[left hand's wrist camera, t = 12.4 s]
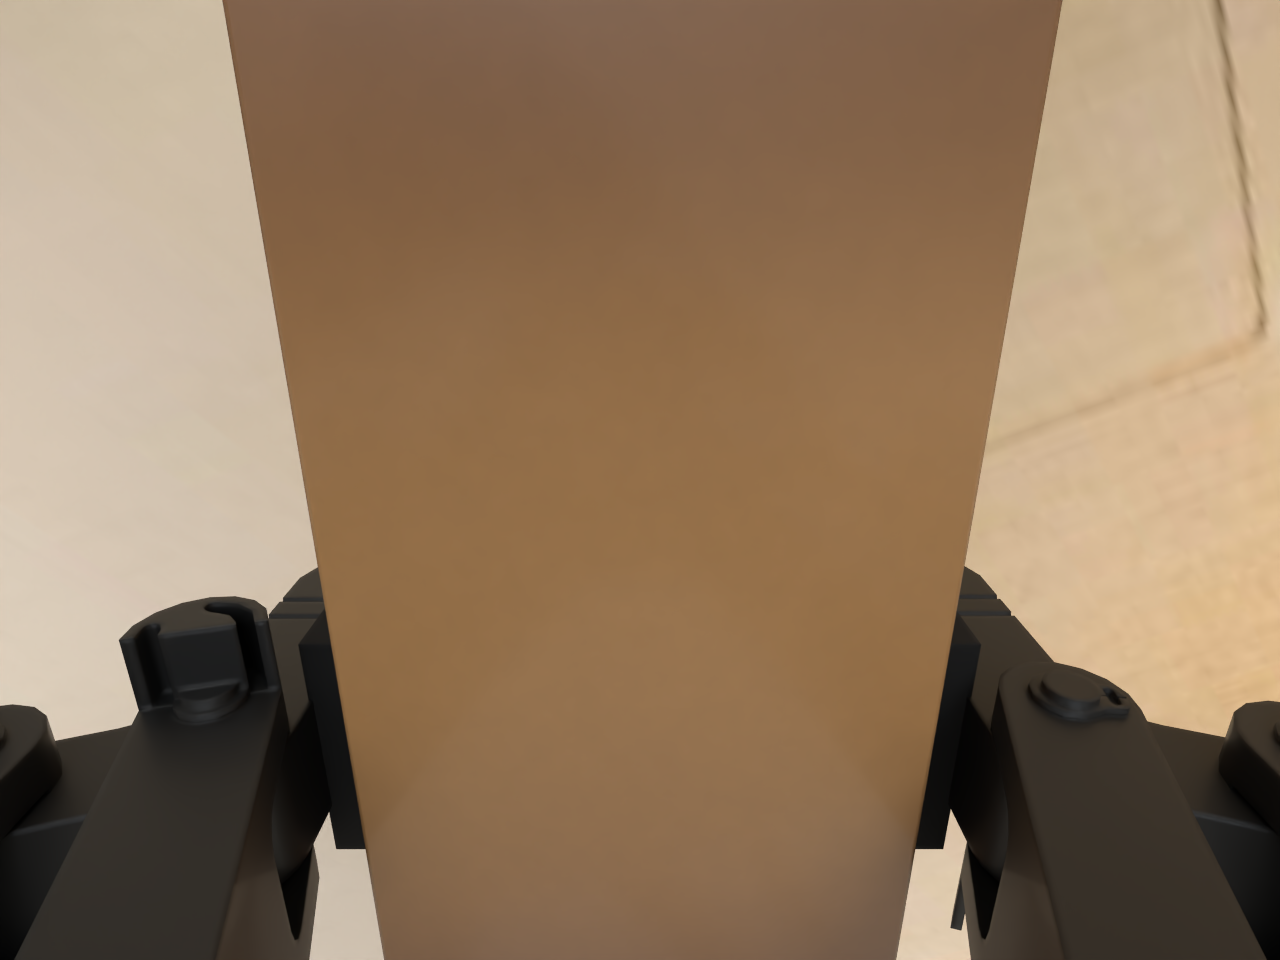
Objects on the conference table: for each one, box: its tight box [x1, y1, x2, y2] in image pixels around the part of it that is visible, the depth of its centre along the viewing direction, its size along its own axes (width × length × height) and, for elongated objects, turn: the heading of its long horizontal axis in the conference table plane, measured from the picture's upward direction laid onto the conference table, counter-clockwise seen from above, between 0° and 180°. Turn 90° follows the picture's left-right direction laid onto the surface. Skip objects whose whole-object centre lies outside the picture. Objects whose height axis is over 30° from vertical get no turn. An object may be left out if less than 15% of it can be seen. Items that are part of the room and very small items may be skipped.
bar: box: [223, 0, 1062, 960], centre depth 9 cm, size 22×5×8 cm, turn 0°
